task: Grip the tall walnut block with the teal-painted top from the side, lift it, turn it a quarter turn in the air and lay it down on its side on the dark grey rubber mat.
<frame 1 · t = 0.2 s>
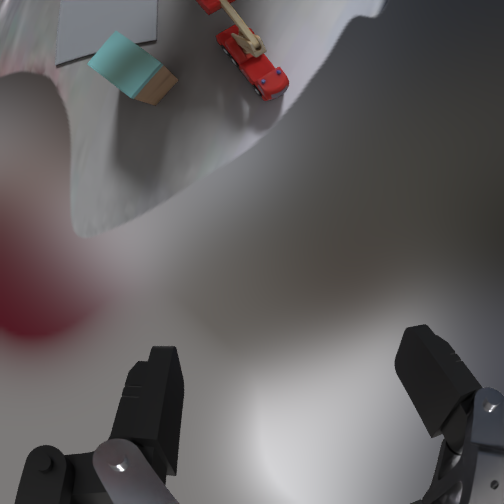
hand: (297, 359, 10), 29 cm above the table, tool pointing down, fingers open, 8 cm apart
toy fire truck: (243, 53, 30), on the table
grey mat: (105, 6, 25), on the table
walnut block: (149, 78, 30), on the table
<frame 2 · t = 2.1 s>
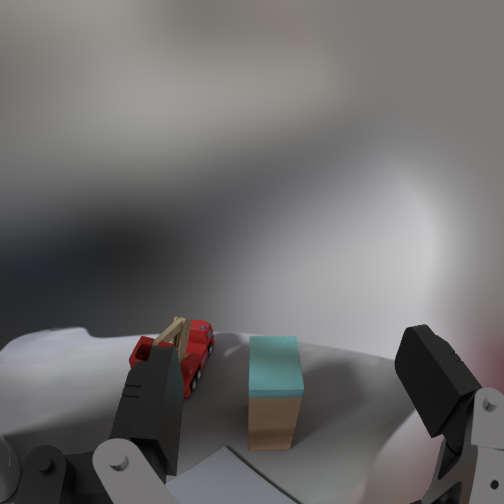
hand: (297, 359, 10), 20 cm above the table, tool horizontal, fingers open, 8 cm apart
toy fire truck: (186, 379, 33), on the table
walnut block: (268, 425, 27), on the table
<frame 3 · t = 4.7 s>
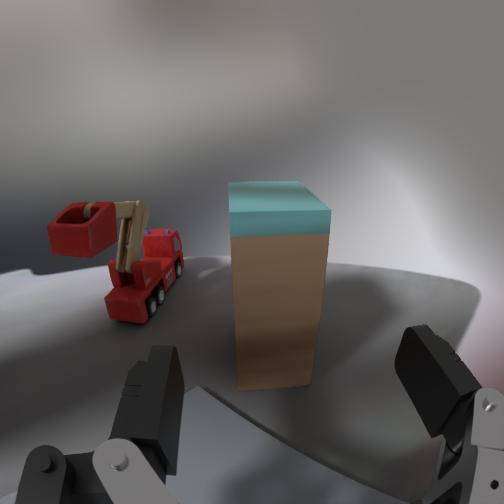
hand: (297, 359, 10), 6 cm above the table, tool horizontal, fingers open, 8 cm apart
toy fire truck: (144, 305, 24), on the table
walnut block: (268, 353, 18), on the table
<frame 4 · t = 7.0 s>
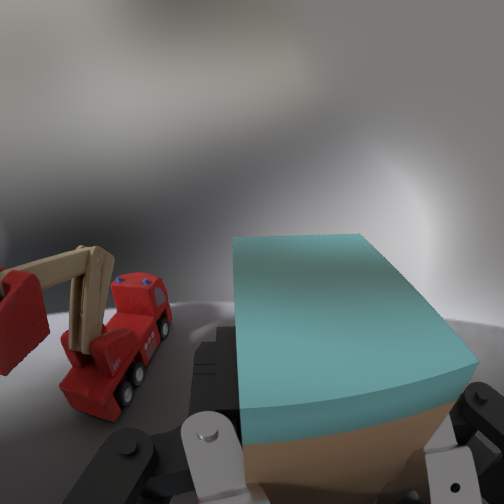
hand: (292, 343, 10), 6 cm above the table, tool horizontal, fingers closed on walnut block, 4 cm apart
toy fire truck: (117, 384, 16), on the table
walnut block: (291, 478, 10), on the table, touching gripper
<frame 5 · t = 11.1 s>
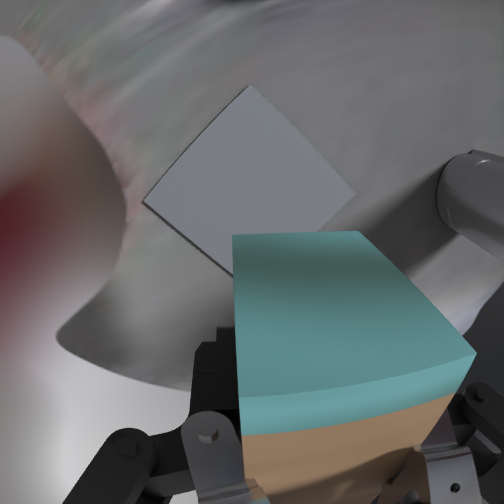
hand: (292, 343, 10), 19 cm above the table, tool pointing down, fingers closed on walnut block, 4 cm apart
grey mat: (251, 193, 27), on the table
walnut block: (291, 475, 11), point 22 cm above the table, tilted 90°, touching gripper
when the fingers open (3 cm above the table, at t = 13.8 s): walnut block drops 2 cm, resting on grey mat.
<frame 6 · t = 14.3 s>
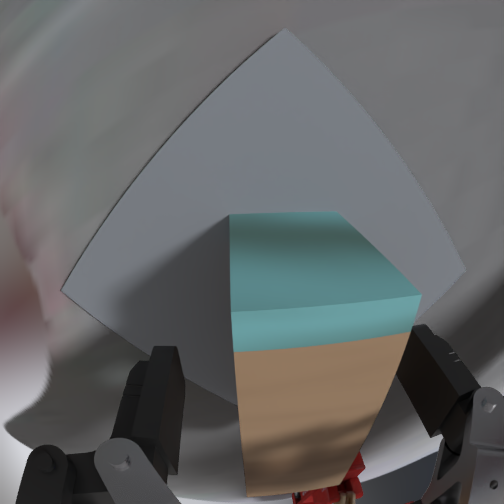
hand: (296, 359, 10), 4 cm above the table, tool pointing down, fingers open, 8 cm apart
toy fire truck: (328, 463, 21), on the table
grey mat: (281, 280, 13), on the table
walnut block: (285, 439, 12), point 3 cm above the table, tilted 90°, touching grey mat
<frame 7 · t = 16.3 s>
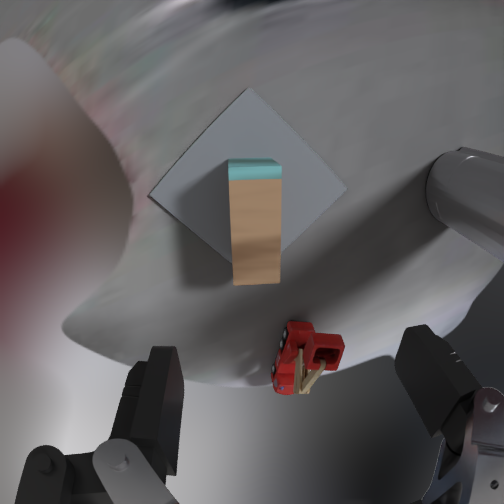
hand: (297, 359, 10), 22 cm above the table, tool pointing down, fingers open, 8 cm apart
toy fire truck: (293, 338, 38), on the table
grey mat: (250, 188, 29), on the table
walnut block: (254, 268, 29), point 3 cm above the table, tilted 90°, touching grey mat
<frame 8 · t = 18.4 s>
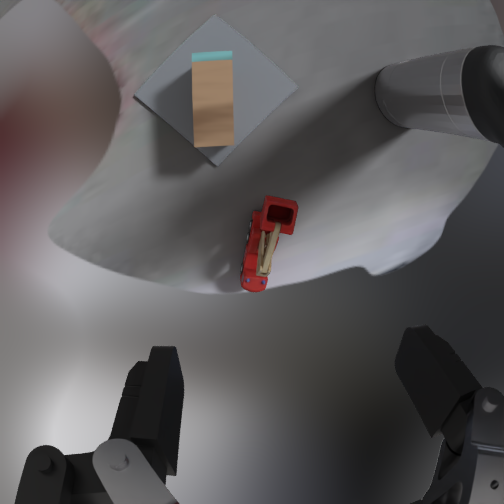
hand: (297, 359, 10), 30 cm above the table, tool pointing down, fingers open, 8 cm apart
toy fire truck: (260, 233, 40), on the table
grey mat: (215, 86, 32), on the table
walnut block: (215, 144, 32), point 3 cm above the table, tilted 90°, touching grey mat
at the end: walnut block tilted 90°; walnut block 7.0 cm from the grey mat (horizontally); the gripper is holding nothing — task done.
